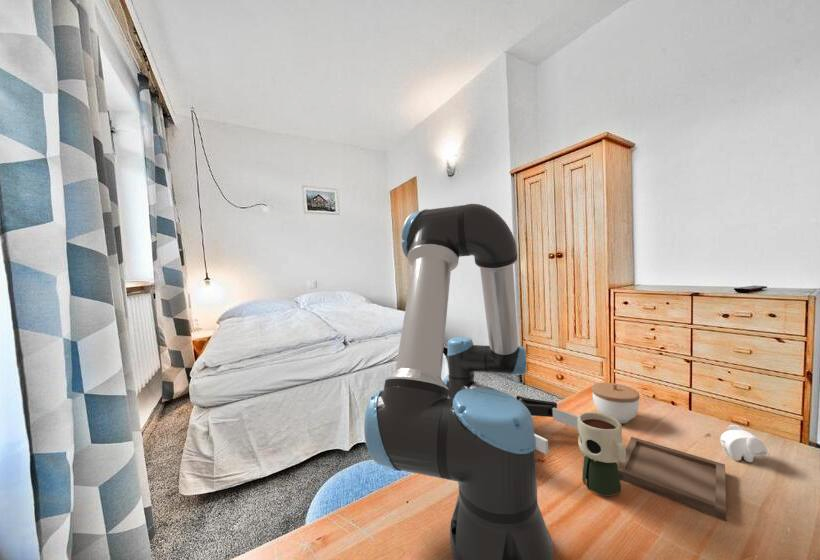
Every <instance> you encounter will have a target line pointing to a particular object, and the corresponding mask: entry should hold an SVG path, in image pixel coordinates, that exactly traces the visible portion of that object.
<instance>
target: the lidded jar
mask: <svg viewBox="0 0 820 560" xmlns="http://www.w3.org/2000/svg"><path fill="white" fill-rule="evenodd" d="M591 393H592V402H593V404H594V407H595V408H596V410H597V413H602V414H605V415H609V416H611V417H613V418H615V419H617V420H618V421H619V422H620V424H627V423H629V422H630V421H631V420H633V419H634V418H635V417H636V416H637V414H638V412H639V406H640V392H638V390H636V389H635V388H633V387H630V386H627V385H624V384H620V383H616V382H615V383H614V382H598V383H594V384H592V385H591Z"/></svg>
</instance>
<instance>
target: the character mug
mask: <svg viewBox="0 0 820 560" xmlns="http://www.w3.org/2000/svg"><path fill="white" fill-rule="evenodd" d="M577 416H578V419H577V426H578V429H577V432H578V437H577V443H578V449H579V450H580V452H581V453H582V454H583V456H584V458H583V465H582V467H583V468H582V475H581V476H582V483H583V484H584V485H586V481H587V482H588V488H589V490H590V491H592V492H594V493H596V494H598V495H601V496H606V497H610V496H615V495H617V494H619V493H621V490H622V484H621V483H622V482H621V480H620V477H619V472H618V467H617V466H618V463H619V462H623V463H625V462H626V445H624V444H623V428H622V423H620V422H619V421H618V420H617V419H615V418H613V417H611V416H609V415H605V414H602V413H599V412H597V411H596V412H594V411H585V412H582V413H579V415H577Z"/></svg>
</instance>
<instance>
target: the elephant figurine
mask: <svg viewBox="0 0 820 560" xmlns="http://www.w3.org/2000/svg"><path fill="white" fill-rule="evenodd" d="M716 439H717V440H719V442H720V444H721V448H722V449H723V451H724V452H725V454H726V455H727V456H729V457H730V459H732V460H734V461H741V460H742V458H743V460H744V461H745V462H747V463H753V461H754V458H755V456H758V457H760V458H761V457H763V456H766V455H769V452H768V449H767V448H766V446H765V444H764V442H763V441H762V440H761V439H760V438H759V437H757V436H755V435H754V434H753V433H751V432H749V431H746V430H745V429H744V428H743V427H742V426H740V425H737V424H730V425H728V426H727V428H726V431H724V432H723V433H722V434H721V435H720V438H718V437H717V438H716Z"/></svg>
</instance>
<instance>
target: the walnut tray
mask: <svg viewBox="0 0 820 560" xmlns="http://www.w3.org/2000/svg"><path fill="white" fill-rule="evenodd" d="M625 448H626V462H625V463H623V462H620V461H618V463H617V467H618V472H619V477H620V481H622V482H625V483H629V484H630V485H632V486H635V487H638V488H640V489H643V490H646V491H648V492H651V493H653V494H656V495H659V496H661V497H663V498H666V499H669V500H671V501H674V502H677V503H678V504H682V505H683V506H687V507H688V508H691V509H695V510H697V511H700V512H702V513H705V514H706V515H710V516H712V517H715V518H718V519H720V520H723V521H725V522H727V501H726V500H727V499H726V497H727V495H726V464H725V463H721V462H717V461H715V460H712V459H709V458H705V457H701V456H697V455H695V454H690V453H687V452H684V451H681V450H677V449H674V448H670V447H667V446H664V445H661V444H658V443H654V442H651V441H648V440H647V441H646V440H644V439H640V438H637V437H633V436H630V439H629V441H628V443H627V445H626V446H625Z"/></svg>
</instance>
